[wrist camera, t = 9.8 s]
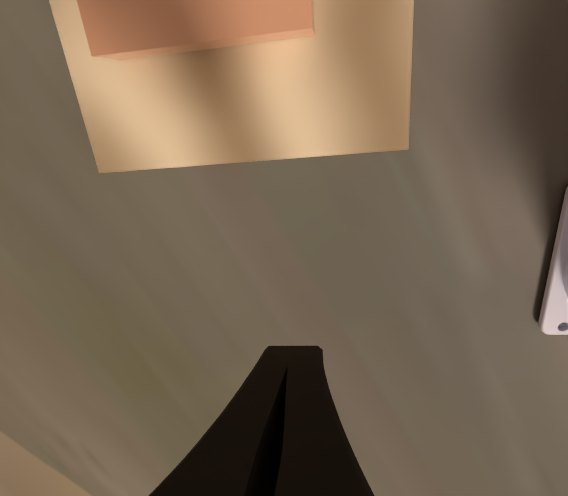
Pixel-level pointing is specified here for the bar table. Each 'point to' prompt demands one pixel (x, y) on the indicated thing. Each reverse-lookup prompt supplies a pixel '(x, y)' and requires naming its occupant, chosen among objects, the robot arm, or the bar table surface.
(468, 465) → the bar table surface
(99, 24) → the peach rectangular block
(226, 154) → the birch board
